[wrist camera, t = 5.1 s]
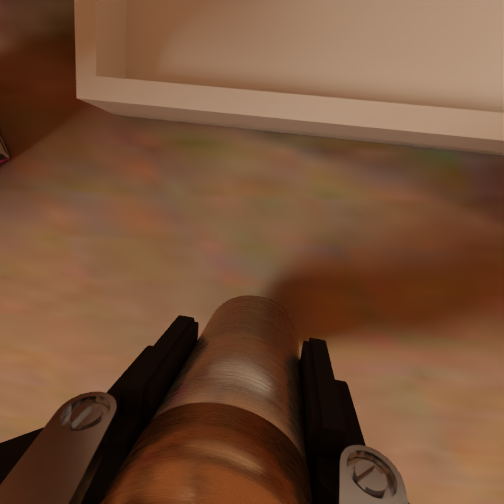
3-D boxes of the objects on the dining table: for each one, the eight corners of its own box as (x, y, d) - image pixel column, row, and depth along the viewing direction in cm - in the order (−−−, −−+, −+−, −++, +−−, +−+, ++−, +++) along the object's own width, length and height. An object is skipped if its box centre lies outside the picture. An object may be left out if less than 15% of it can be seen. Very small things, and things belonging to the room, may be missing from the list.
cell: (209, 287, 12) (62, 480, 4) (307, 303, 11) (346, 548, 4) (202, 370, 13) (73, 650, 5) (291, 387, 12) (297, 716, 5)
